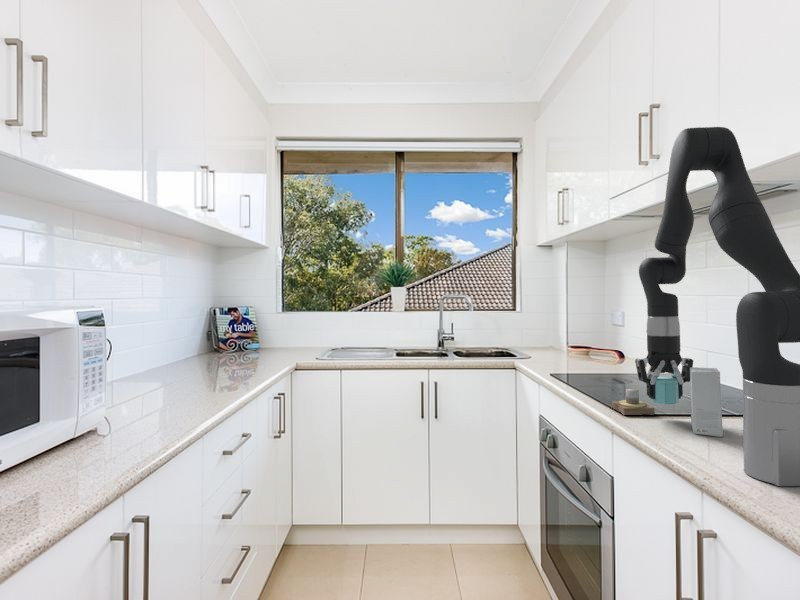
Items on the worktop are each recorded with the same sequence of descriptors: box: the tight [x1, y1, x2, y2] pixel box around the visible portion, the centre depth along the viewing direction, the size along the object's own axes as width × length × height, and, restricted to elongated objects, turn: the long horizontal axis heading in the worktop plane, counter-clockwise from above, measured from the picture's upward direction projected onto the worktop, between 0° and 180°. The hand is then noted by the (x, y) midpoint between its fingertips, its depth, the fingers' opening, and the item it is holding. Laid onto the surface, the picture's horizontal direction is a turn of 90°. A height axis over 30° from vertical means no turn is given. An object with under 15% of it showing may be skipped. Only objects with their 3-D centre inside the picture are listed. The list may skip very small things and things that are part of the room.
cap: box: [650, 376, 680, 405], centre depth 121 cm, size 6×6×6 cm
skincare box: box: [689, 367, 724, 438], centre depth 110 cm, size 8×6×15 cm
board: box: [611, 388, 656, 416], centre depth 128 cm, size 8×8×6 cm
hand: (664, 398), depth 121 cm, fingers closed on cap, 5 cm apart
